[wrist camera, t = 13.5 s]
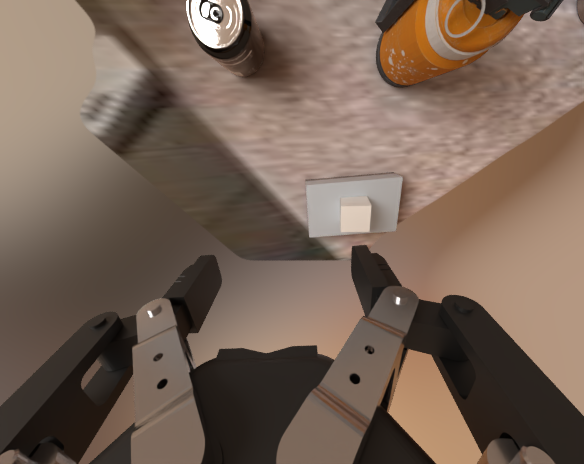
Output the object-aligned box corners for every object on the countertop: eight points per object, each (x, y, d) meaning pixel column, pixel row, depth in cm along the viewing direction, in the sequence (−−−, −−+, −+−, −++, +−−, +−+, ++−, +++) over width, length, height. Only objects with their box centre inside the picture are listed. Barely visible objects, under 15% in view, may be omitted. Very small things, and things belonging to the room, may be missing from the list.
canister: (410, 99, 35) (531, 70, 17) (350, 61, 33) (414, -17, 15) (451, 32, 31) (664, -97, 13) (387, -14, 29) (531, -240, 11)
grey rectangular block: (393, 172, 40) (402, 176, 36) (387, 222, 44) (395, 231, 40) (305, 180, 41) (306, 185, 37) (308, 228, 45) (309, 237, 41)
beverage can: (224, 11, 31) (184, -51, 20) (270, 31, 31) (256, -19, 21) (216, 68, 33) (177, 41, 23) (259, 85, 34) (241, 66, 23)
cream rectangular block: (365, 191, 40) (371, 205, 33) (363, 214, 42) (369, 232, 35) (339, 192, 41) (341, 206, 34) (339, 215, 42) (340, 232, 36)
